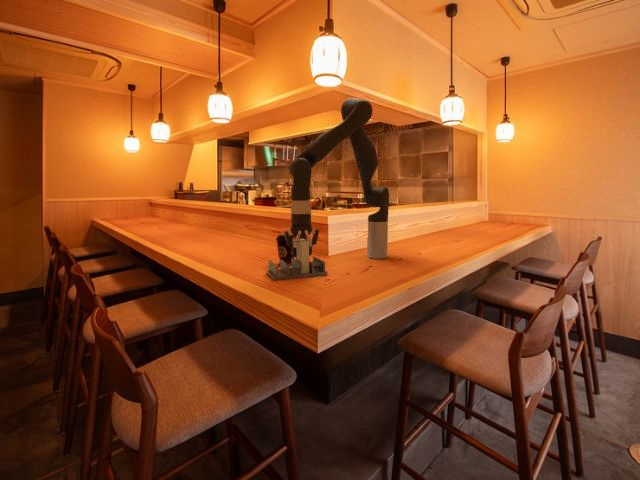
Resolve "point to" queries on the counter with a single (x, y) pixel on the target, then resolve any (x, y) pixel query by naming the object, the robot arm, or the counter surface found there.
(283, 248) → the coffee cup
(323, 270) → the dish rack
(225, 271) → the counter surface
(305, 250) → the tall cream pillar
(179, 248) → the counter surface
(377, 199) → the robot arm
